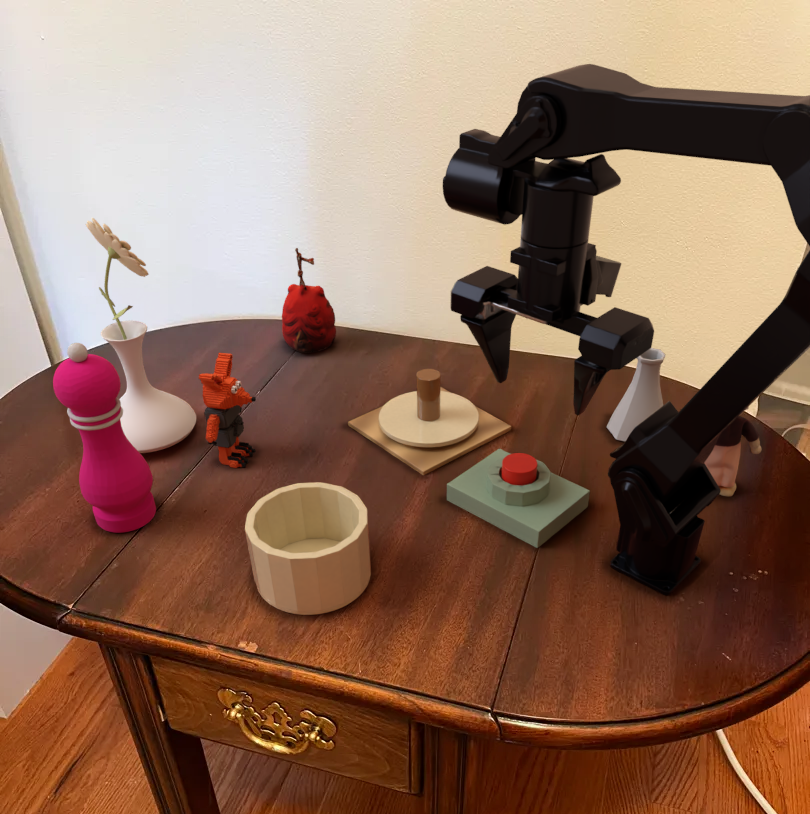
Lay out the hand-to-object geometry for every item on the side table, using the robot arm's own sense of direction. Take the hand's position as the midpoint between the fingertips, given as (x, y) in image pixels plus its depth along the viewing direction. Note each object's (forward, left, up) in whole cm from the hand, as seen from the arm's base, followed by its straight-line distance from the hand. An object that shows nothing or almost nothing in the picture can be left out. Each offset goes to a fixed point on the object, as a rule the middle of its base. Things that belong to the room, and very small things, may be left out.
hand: (539, 396), depth 81 cm
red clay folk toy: (+45, -9, -13) cm, 48 cm away
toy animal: (+30, +15, -13) cm, 36 cm away
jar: (+9, +23, -13) cm, 28 cm away
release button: (+1, +1, -9) cm, 10 cm away
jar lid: (+18, -4, -12) cm, 22 cm away
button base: (+1, +1, -13) cm, 13 cm away
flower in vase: (+43, +19, -13) cm, 49 cm away
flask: (-1, -20, -13) cm, 24 cm away
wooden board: (+18, -4, -13) cm, 23 cm away
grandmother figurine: (-13, -15, -13) cm, 24 cm away
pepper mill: (+31, +30, -13) cm, 45 cm away
